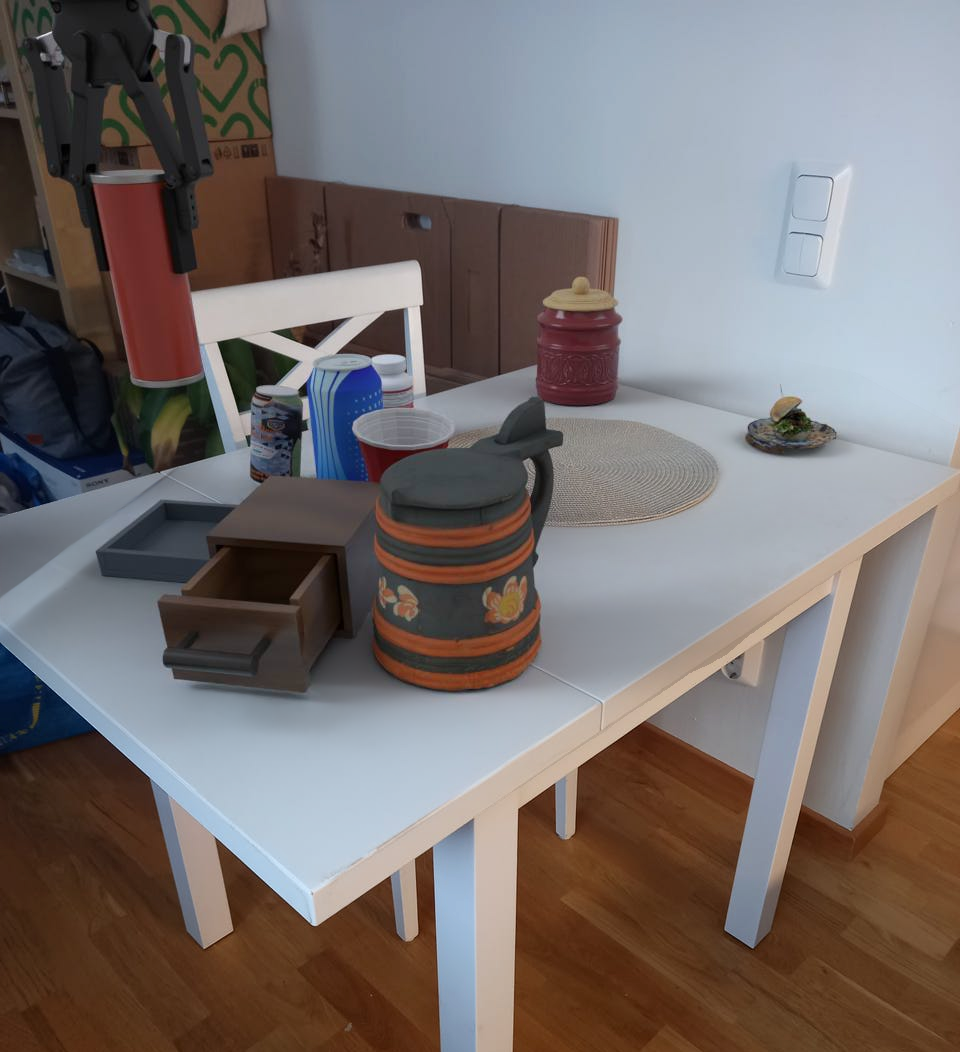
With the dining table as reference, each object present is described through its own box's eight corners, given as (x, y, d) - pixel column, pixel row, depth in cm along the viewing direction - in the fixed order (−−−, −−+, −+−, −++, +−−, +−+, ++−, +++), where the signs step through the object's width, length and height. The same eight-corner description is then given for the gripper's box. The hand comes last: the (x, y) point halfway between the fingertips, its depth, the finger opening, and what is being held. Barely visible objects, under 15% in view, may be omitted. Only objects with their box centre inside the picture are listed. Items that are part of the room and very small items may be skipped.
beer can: (360, 514, 106) (348, 374, 98) (304, 500, 110) (288, 364, 102) (402, 490, 112) (395, 357, 104) (348, 478, 116) (336, 348, 108)
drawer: (286, 724, 70) (273, 642, 66) (147, 709, 72) (128, 628, 68) (357, 611, 85) (350, 539, 81) (241, 601, 87) (229, 530, 83)
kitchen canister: (627, 404, 141) (636, 283, 132) (543, 409, 140) (547, 286, 131) (605, 382, 152) (612, 268, 143) (528, 385, 151) (530, 271, 142)
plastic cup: (393, 557, 96) (385, 446, 90) (342, 523, 104) (332, 419, 98) (477, 531, 102) (475, 425, 96) (423, 501, 109) (418, 400, 103)
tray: (101, 575, 94) (95, 550, 92) (165, 522, 105) (161, 499, 104) (226, 586, 91) (222, 561, 90) (278, 530, 103) (275, 507, 101)
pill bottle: (371, 432, 132) (366, 353, 126) (414, 431, 132) (411, 352, 126) (370, 446, 126) (364, 365, 121) (415, 445, 127) (411, 363, 121)
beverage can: (243, 484, 115) (228, 388, 108) (294, 470, 119) (283, 377, 113) (267, 499, 111) (254, 399, 104) (320, 484, 115) (310, 387, 108)
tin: (117, 386, 83) (73, 175, 74) (154, 367, 89) (116, 169, 80) (183, 389, 82) (147, 176, 73) (216, 370, 87) (186, 169, 79)
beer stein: (477, 575, 93) (475, 375, 82) (601, 620, 85) (615, 405, 74) (338, 653, 80) (315, 429, 70) (468, 715, 72) (463, 471, 62)
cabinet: (353, 638, 82) (344, 546, 78) (221, 626, 84) (205, 535, 80) (397, 566, 95) (391, 482, 90) (281, 557, 97) (270, 475, 92)
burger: (782, 463, 119) (792, 405, 115) (726, 436, 128) (733, 382, 124) (855, 449, 123) (866, 393, 119) (795, 424, 132) (804, 371, 129)
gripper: (232, -59, 70) (270, 266, 82) (6, -50, 73) (73, 260, 85) (185, -73, 64) (233, 281, 75) (-60, -63, 67) (23, 274, 79)
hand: (148, 269), depth 80 cm, fingers closed on tin, 6 cm apart
